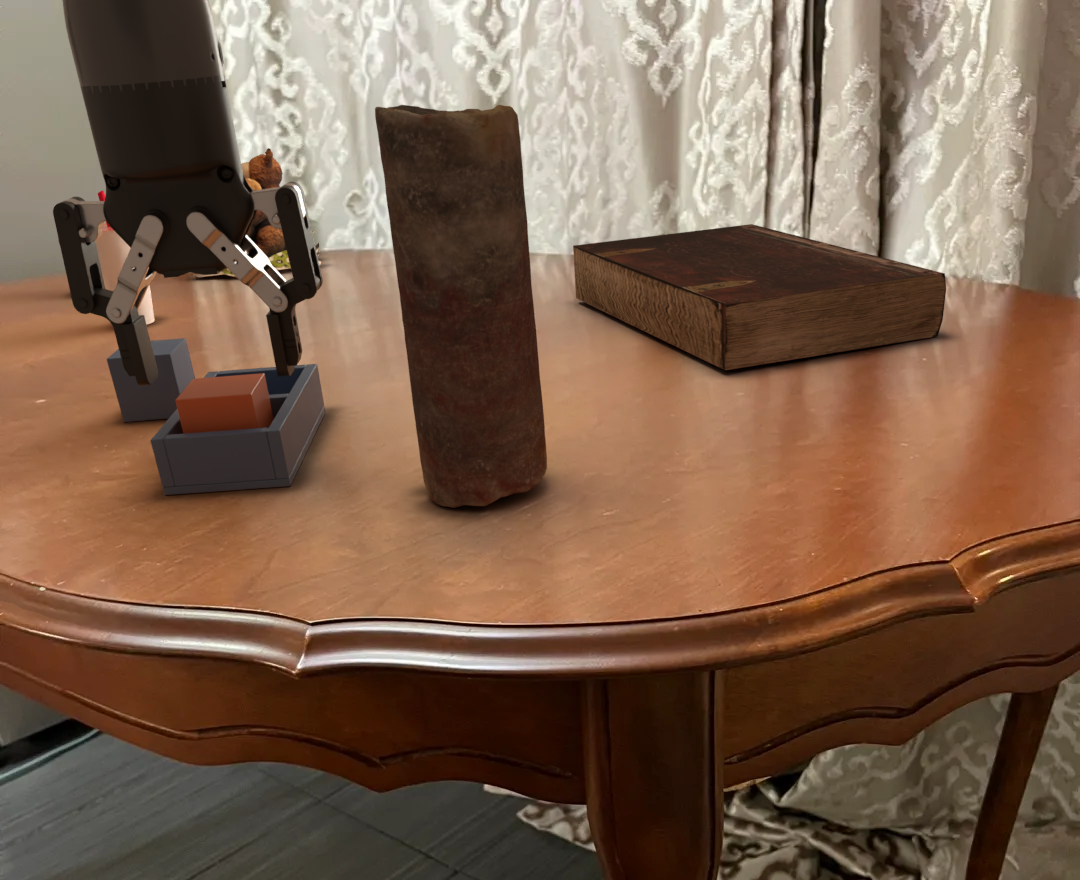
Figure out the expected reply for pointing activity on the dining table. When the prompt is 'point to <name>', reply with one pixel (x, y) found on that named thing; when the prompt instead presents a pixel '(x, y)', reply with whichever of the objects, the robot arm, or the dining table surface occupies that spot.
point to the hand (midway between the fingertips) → (218, 377)
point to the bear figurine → (269, 239)
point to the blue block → (166, 388)
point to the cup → (118, 264)
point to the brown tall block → (465, 298)
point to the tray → (245, 440)
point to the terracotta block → (225, 404)
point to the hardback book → (758, 294)
